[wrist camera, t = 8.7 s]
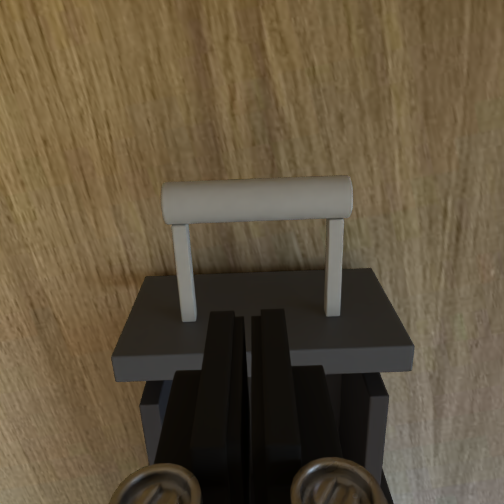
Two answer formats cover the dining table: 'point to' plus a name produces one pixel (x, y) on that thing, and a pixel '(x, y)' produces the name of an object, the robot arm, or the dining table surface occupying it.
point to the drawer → (269, 297)
